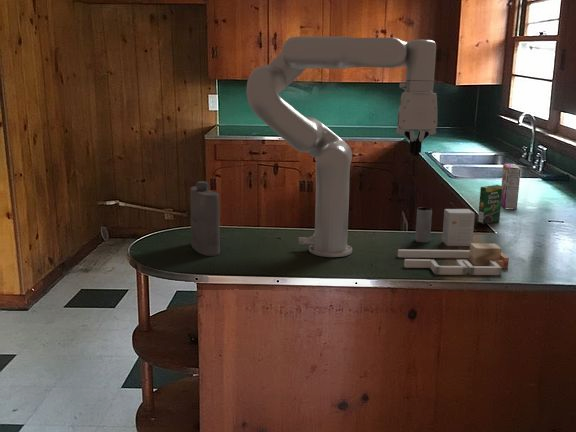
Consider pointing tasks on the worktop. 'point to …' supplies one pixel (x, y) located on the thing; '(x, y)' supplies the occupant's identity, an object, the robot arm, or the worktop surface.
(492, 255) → the beech block
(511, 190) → the candy bar box
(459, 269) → the channel
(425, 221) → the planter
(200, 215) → the flask
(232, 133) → the worktop surface
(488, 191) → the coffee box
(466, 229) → the small box
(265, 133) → the worktop surface
